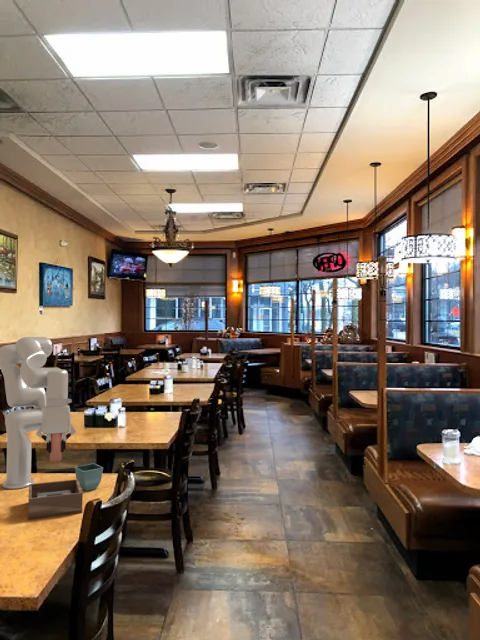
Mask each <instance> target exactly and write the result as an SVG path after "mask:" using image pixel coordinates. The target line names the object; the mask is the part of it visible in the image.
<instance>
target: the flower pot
mask: <svg viewBox="0 0 480 640" xmlns="http://www.w3.org/2000/svg"><path fill="white" fill-rule="evenodd" d="M74 470H75V471H74V472H75V479H78V480H79V483H80V486H81V490H82V491H85V492H87V491H91V490H95V489H98V487H99V486H100V484H101V481H102V477H103V471H104V467H102V466H101V465H99V464H96V463H89V464H83V465H79V466H74Z"/></svg>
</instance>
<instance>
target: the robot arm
mask: <svg viewBox="0 0 480 640" xmlns="http://www.w3.org/2000/svg"><path fill="white" fill-rule="evenodd" d="M53 347H54V346H53V343H52V340H51V339H50V338H48V337H46V336H23V337H21V338H19V339H17V341H16V342H15V344H12V343H11V344H6V345H5V344H4V345H3V346H1V347H0V370H1V373H2V375H3V378H4V379H3V380H4V389H5V395H6V398H5V399H6V403H7V405H8V406H9V407H10V408H26V407H33V408H28V409H27V408H26V409H17V410H12V411H10V412H8V413H7V414H6V416H5V417H4V418H5V419H4V424H5V431H6V475H5V477H6V478H5V479H6V480H4V481H3V482H1V486H2V488H4V489H10V490H14V489H15V490H16V489H17V490H18V489H24V488H27V487H28V488H29V484H35V482H36V481H35V479H34V478H32V477H31V476H32V440H31V439H30V437H29V436H28V435H27V433H28V432H34V431H36V436H37V437H38V438H41V440H43V441H45V443H46V448H45V449H46V452H47V453H48V454H50V453H51V442H50V438H51V434H54V433H62V453H65V452H64V451H65V450H67V449H66V447H67V446H66V445H67V444H66V443H67V441H68V439H69V438H70V437H72V436H73V435H74V434H75V433H77V431H76V429H75V427H74V426H73V424H72V417H71V408H70V405H69V404H70V403H72V402H73V401H72V399H71V398H68V397H69V396H68V395H69V390H68V389H69V373H68V371H67V370H66V369H61V368H59V367H44V366H45V364H46V362H47V358H49V356H51V354H52V352H53ZM17 364H18V365H17ZM19 364H20V366H19ZM45 388H46V390H45Z"/></svg>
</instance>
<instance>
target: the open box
mask: <svg viewBox="0 0 480 640" xmlns="http://www.w3.org/2000/svg"><path fill="white" fill-rule="evenodd" d="M83 494H84V493H83V489H81V486H80V483H79V480H78V479H76V478H75V479H67V480H65V479H64V480H58V481H56V480H55V481H48V482H45V481H44V482H37V483H34V484H29V486H28V502H27V503H28V506H27V507H28V510H27V511H28V512H27V514H28V515H27V516H28V517H27V518H28V519H27V520H34V519H42V518H52V517H58V516H65V515H66V516H67V515H72V514H73V515H74V514H81V513H83V500H84V499H83Z"/></svg>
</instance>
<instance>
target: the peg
mask: <svg viewBox="0 0 480 640" xmlns="http://www.w3.org/2000/svg"><path fill="white" fill-rule="evenodd" d="M62 439H63V437H62V433H54V434H51V436H50V442H51V453H49V461H50V462H52V463H54V462H57V463H58V462H61V461H62V453H63V452H62Z"/></svg>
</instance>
